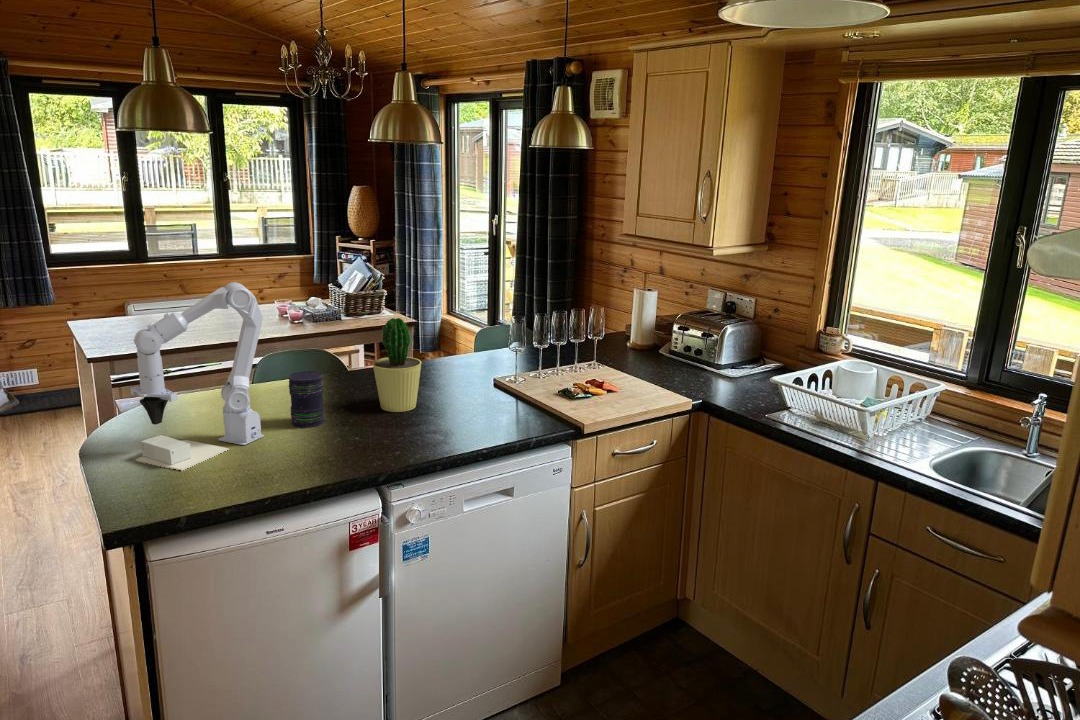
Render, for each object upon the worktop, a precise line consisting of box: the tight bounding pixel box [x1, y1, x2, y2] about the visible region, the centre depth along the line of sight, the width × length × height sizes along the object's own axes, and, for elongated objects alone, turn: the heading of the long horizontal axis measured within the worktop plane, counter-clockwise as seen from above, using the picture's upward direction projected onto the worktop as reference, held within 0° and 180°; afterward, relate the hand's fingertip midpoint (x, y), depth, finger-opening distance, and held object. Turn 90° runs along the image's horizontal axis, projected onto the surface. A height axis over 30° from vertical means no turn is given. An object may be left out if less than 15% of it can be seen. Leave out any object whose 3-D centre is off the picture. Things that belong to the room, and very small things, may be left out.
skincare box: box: [140, 434, 191, 465], centre depth 197 cm, size 6×4×12 cm
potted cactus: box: [372, 317, 422, 413], centre depth 240 cm, size 15×15×30 cm
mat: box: [135, 439, 230, 472], centre depth 200 cm, size 16×16×1 cm
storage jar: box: [288, 370, 326, 429], centre depth 225 cm, size 10×10×15 cm
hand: (157, 423), depth 201 cm, fingers closed
